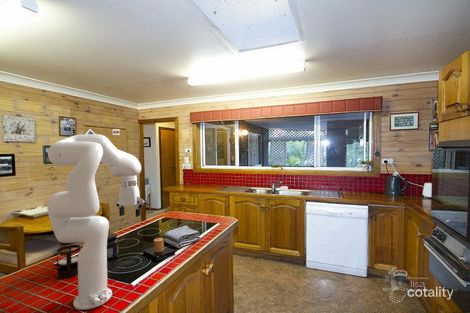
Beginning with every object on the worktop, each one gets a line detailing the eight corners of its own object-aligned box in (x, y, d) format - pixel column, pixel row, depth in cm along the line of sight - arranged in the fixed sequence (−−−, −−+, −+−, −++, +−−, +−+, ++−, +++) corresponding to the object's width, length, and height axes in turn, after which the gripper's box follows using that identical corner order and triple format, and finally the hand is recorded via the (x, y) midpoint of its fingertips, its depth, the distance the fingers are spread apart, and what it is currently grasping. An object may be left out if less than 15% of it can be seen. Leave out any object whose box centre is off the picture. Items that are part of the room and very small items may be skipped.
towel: (163, 243, 147) (162, 231, 147) (186, 235, 162) (186, 224, 162) (178, 249, 138) (178, 236, 138) (201, 240, 152) (201, 228, 152)
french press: (54, 281, 104) (53, 229, 104) (55, 273, 112) (54, 224, 112) (85, 274, 111) (84, 224, 111) (84, 266, 119) (84, 220, 119)
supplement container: (116, 252, 135) (116, 231, 135) (119, 258, 127) (119, 236, 127) (95, 257, 130) (94, 235, 130) (97, 264, 121) (96, 240, 121)
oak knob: (165, 250, 131) (165, 238, 131) (157, 252, 127) (156, 241, 127) (160, 247, 134) (160, 236, 134) (152, 250, 131) (152, 239, 131)
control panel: (174, 255, 130) (174, 250, 130) (156, 262, 122) (156, 256, 122) (161, 248, 140) (161, 244, 140) (143, 254, 132) (143, 249, 132)
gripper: (110, 184, 126) (111, 217, 126) (139, 185, 122) (140, 218, 122) (120, 183, 133) (120, 213, 134) (147, 183, 130) (148, 214, 130)
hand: (130, 215), depth 128 cm, fingers open, 9 cm apart
